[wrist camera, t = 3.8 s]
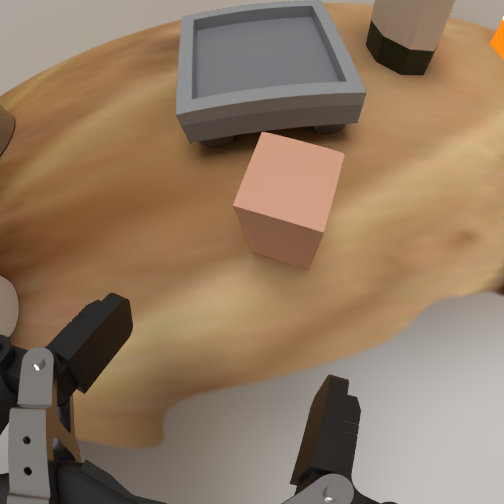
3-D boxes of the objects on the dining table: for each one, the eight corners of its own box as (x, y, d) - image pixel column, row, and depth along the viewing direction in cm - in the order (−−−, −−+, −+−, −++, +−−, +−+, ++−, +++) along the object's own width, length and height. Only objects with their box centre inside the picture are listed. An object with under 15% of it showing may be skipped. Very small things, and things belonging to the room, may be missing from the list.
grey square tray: (198, 159, 28) (175, 114, 21) (197, 61, 31) (182, 16, 24) (351, 141, 26) (366, 92, 20) (318, 46, 30) (321, 0, 23)
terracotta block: (308, 269, 24) (323, 232, 15) (252, 252, 25) (232, 205, 15) (324, 216, 25) (344, 153, 16) (270, 200, 26) (262, 131, 16)
